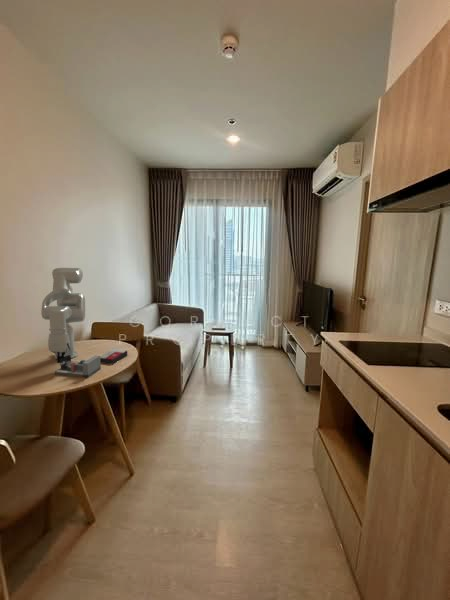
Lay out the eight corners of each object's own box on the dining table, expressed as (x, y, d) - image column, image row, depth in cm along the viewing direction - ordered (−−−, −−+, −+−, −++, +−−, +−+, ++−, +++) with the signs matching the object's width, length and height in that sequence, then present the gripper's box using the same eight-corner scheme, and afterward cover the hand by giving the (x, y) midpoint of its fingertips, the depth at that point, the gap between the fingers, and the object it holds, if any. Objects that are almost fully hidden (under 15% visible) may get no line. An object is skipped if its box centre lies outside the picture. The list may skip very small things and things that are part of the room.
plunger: (57, 370, 141) (56, 360, 140) (68, 364, 149) (68, 354, 148) (71, 372, 140) (71, 361, 139) (82, 366, 148) (81, 356, 147)
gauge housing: (54, 374, 141) (53, 360, 140) (69, 365, 152) (68, 353, 151) (88, 377, 139) (87, 363, 137) (100, 369, 149) (100, 355, 148)
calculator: (97, 357, 158) (112, 347, 172) (97, 363, 159) (113, 353, 173) (112, 359, 156) (127, 349, 170) (113, 365, 157) (127, 355, 171)
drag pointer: (71, 372, 140) (70, 363, 139) (73, 371, 141) (72, 362, 140) (73, 372, 139) (72, 363, 139) (75, 371, 141) (74, 362, 140)
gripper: (40, 332, 140) (43, 363, 143) (66, 334, 138) (68, 366, 141) (51, 328, 147) (54, 358, 151) (75, 330, 146) (77, 360, 149)
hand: (60, 362), depth 146 cm, fingers closed
